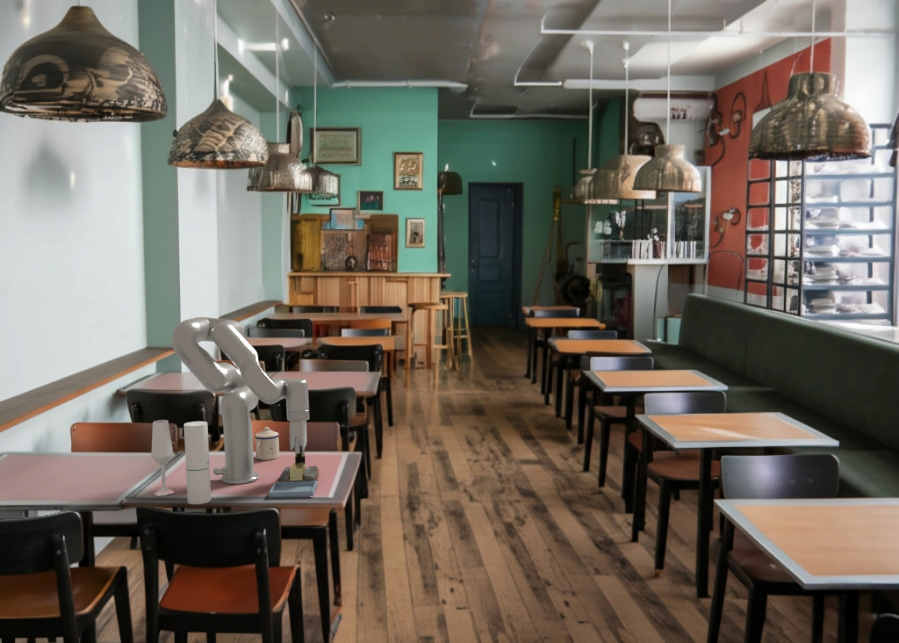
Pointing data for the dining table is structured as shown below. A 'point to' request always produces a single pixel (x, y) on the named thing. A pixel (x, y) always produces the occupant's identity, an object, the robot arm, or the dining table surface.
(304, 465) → the light brown cube
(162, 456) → the champagne flute
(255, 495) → the dining table surface
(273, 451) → the teacup with lid
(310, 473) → the slot bed
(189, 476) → the cylindrical container
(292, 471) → the tan wooden cube
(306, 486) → the tray
